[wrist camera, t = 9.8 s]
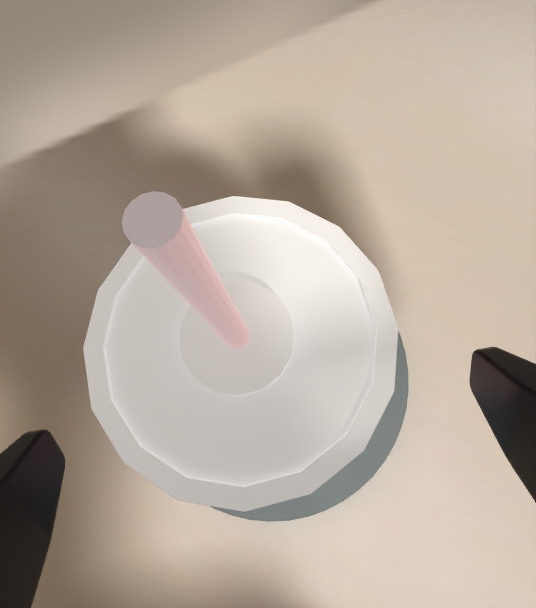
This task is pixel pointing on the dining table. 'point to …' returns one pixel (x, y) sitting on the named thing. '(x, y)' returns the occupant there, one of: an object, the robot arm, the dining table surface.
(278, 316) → the beverage cup
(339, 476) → the coaster
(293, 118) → the dining table surface
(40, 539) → the robot arm
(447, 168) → the dining table surface
